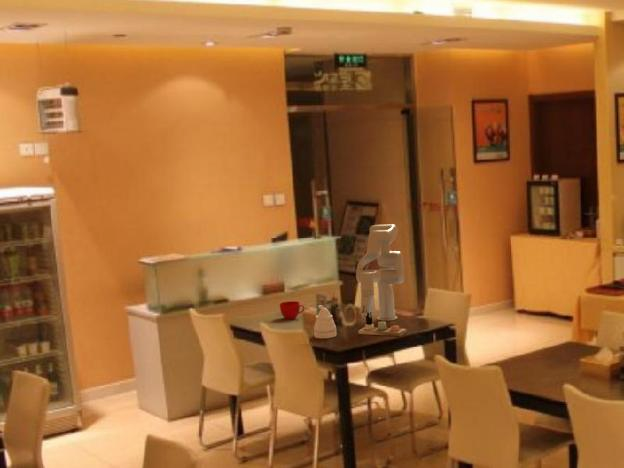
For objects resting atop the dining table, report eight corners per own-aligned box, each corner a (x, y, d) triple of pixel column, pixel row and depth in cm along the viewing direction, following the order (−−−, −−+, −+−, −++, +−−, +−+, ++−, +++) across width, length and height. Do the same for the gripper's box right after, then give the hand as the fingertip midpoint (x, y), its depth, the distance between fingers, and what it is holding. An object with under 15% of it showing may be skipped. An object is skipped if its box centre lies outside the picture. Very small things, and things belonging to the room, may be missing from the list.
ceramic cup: (300, 320, 553) (299, 305, 552) (277, 320, 561) (276, 304, 560) (309, 316, 565) (308, 301, 564) (286, 316, 572) (285, 301, 571)
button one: (368, 330, 509) (367, 323, 509) (375, 330, 507) (375, 323, 506) (364, 331, 505) (364, 324, 505) (371, 332, 503) (371, 325, 502)
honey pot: (318, 339, 497) (316, 308, 495) (311, 335, 509) (309, 304, 507) (339, 336, 500) (337, 305, 499) (332, 332, 513) (330, 302, 511)
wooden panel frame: (366, 330, 513) (365, 326, 513) (406, 332, 500) (406, 328, 500) (358, 333, 504) (358, 330, 504) (399, 336, 491) (399, 332, 491)
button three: (393, 332, 501) (392, 325, 501) (400, 332, 499) (400, 325, 499) (389, 333, 497) (389, 326, 497) (397, 334, 495) (396, 327, 494)
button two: (380, 328, 505) (379, 321, 505) (387, 328, 503) (387, 321, 502) (376, 329, 501) (376, 322, 500) (384, 330, 499) (383, 323, 498)
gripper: (367, 290, 512) (369, 321, 513) (356, 295, 499) (357, 326, 500) (378, 291, 508) (380, 322, 510) (367, 295, 495) (369, 327, 497)
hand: (369, 324), depth 505 cm, fingers closed
